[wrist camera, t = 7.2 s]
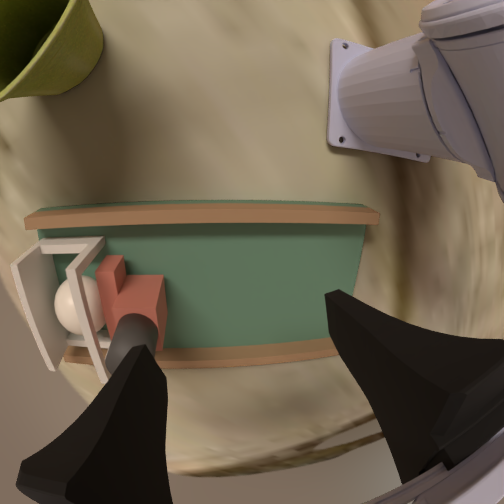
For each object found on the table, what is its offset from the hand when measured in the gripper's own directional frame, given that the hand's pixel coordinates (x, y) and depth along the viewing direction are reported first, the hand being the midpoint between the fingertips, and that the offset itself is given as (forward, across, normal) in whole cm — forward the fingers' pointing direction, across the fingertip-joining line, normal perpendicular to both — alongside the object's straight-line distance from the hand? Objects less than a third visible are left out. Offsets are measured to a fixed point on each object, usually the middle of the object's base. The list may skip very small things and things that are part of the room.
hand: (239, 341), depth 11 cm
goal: (+10, +11, 0) cm, 14 cm away
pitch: (+10, +2, +2) cm, 10 cm away
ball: (+7, +10, 0) cm, 12 cm away
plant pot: (+10, +7, -17) cm, 21 cm away
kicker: (+8, +6, +1) cm, 11 cm away
